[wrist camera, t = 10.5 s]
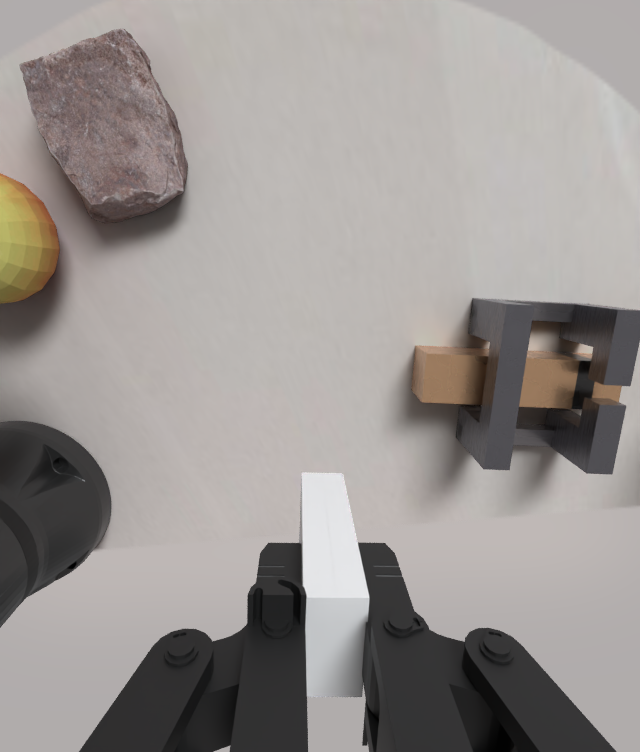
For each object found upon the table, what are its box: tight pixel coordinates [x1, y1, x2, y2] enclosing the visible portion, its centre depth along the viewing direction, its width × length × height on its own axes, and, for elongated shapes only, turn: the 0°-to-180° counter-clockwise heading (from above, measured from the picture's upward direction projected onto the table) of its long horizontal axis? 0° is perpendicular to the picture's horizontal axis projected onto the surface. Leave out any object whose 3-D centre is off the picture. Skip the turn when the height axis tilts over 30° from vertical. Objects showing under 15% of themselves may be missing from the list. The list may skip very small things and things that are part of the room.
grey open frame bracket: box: [456, 298, 640, 474], centre depth 37 cm, size 10×12×7 cm
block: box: [411, 346, 622, 409], centre depth 39 cm, size 16×4×4 cm, turn 87°
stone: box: [20, 29, 188, 223], centre depth 34 cm, size 12×9×5 cm
